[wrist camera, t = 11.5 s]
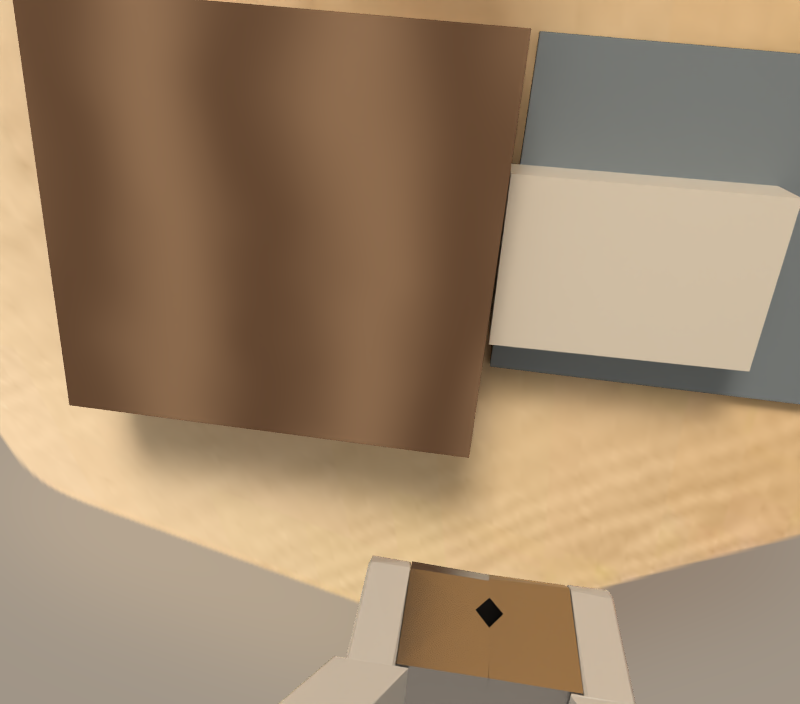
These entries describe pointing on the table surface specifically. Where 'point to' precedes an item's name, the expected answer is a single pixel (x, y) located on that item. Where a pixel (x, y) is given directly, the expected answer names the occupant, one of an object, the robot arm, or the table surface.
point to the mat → (673, 170)
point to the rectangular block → (638, 265)
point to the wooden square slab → (273, 211)
